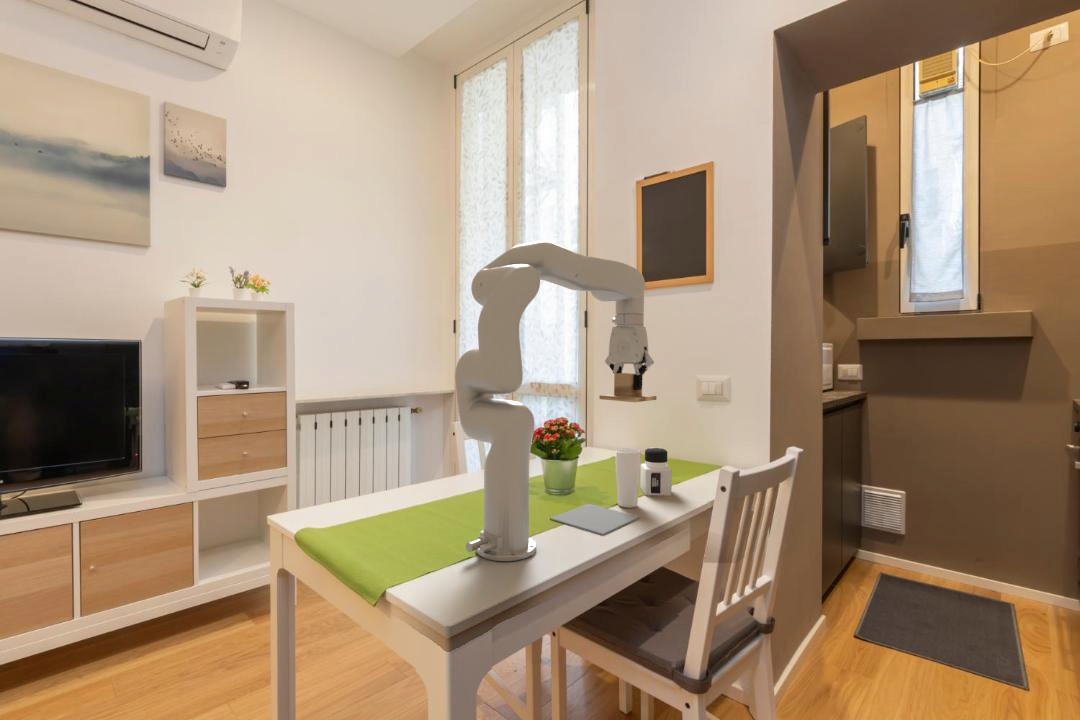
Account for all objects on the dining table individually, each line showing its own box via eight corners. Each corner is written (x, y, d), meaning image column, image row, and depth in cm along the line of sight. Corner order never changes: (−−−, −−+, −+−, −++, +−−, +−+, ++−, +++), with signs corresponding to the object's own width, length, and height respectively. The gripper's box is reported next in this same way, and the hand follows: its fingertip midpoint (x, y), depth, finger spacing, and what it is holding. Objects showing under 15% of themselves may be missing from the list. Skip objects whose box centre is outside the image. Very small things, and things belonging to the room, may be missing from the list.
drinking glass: (639, 502, 144) (639, 448, 143) (641, 509, 137) (642, 453, 137) (614, 501, 144) (614, 447, 144) (615, 508, 138) (616, 452, 137)
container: (671, 496, 150) (672, 451, 150) (645, 495, 150) (645, 451, 150) (665, 488, 158) (666, 446, 157) (640, 488, 158) (640, 446, 158)
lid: (634, 402, 132) (635, 374, 132) (599, 399, 139) (599, 373, 139) (656, 399, 140) (656, 373, 140) (621, 396, 147) (622, 372, 147)
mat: (602, 535, 118) (602, 533, 118) (549, 519, 129) (549, 517, 129) (639, 518, 130) (639, 516, 130) (588, 505, 141) (588, 503, 141)
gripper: (595, 321, 142) (594, 388, 143) (650, 320, 131) (649, 392, 131) (610, 323, 148) (609, 386, 148) (664, 321, 136) (663, 390, 137)
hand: (628, 388), depth 140 cm, fingers closed on lid, 5 cm apart
